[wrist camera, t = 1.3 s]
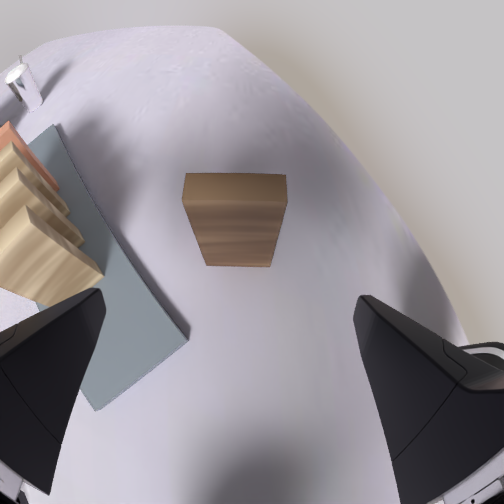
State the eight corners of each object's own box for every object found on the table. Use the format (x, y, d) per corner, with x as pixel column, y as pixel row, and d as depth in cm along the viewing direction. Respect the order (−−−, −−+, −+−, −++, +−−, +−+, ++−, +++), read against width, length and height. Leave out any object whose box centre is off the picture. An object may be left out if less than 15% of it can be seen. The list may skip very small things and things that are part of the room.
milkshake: (51, 90, 32) (30, 49, 23) (41, 110, 30) (15, 66, 21) (32, 99, 32) (10, 60, 23) (21, 119, 30) (-4, 79, 21)
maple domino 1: (70, 213, 23) (13, 150, 13) (36, 245, 22) (-29, 195, 12) (66, 202, 23) (11, 140, 14) (32, 234, 22) (-30, 183, 13)
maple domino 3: (104, 276, 21) (30, 222, 11) (64, 312, 20) (-20, 278, 10) (96, 262, 21) (25, 204, 12) (57, 297, 20) (-23, 257, 11)
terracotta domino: (59, 189, 24) (9, 127, 14) (27, 219, 23) (-30, 167, 13) (56, 180, 24) (8, 120, 15) (24, 209, 23) (-29, 158, 14)
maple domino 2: (85, 241, 22) (19, 179, 12) (48, 275, 21) (-27, 230, 11) (79, 229, 22) (16, 166, 13) (42, 262, 21) (-28, 215, 12)
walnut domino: (269, 267, 23) (287, 201, 13) (206, 265, 22) (181, 200, 13) (269, 248, 23) (285, 174, 14) (207, 247, 23) (186, 173, 14)
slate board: (188, 340, 20) (186, 339, 19) (100, 409, 18) (94, 411, 17) (56, 128, 29) (53, 123, 28) (4, 174, 26) (0, 170, 25)
